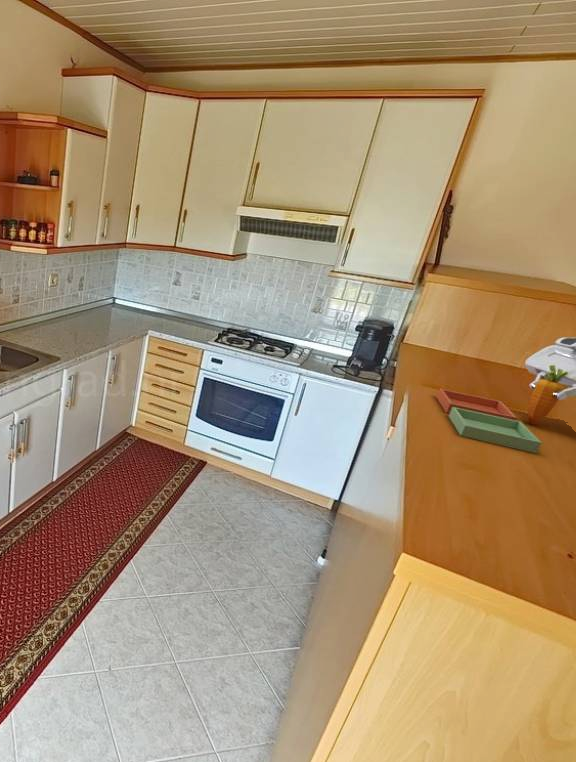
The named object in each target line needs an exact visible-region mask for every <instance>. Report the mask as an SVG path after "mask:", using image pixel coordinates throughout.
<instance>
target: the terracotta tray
mask: <svg viewBox="0 0 576 762" xmlns="http://www.w3.org/2000/svg"><path fill="white" fill-rule="evenodd" d="M436 399H437V401H438V402H439V404H440V405H441V407H442V409H443V410H444V412H445V413H446V414H448V415H450V412H451V409H452V407H455V408H460V409H465V410H469V411H474V412H478V413H483V414H488V415H492V416H497V417H502V418H506V419H511V420H516V421H517V419H518V417H517V416H516V415H515V414H514V413H513V412H512V411H511V410H510V409H509V408H508V407H507V406H506V405H505V404H504V403H503V402H502V401H501V400H498V399H492V398H487V397H482V396H477V395H472V394H468V393H463V392H458V391H454V390H448V389H444V388H439V390H438V392H437V395H436Z"/></svg>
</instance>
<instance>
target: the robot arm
mask: <svg viewBox="0 0 576 762" xmlns="http://www.w3.org/2000/svg"><path fill="white" fill-rule="evenodd" d="M550 365H555V369H556V376H557V373H558V369H562V370H563V372H562V373H564V372H566V371H567V372H568V374H567V375H565V376H563V377H562V378H561V379H559V380H558V381H557V382H559V383H561V384H562V385H563V386H566V387H569V388H565V389H563V390H561V389H559V390H557V391H556V392H554V393H553V396H554V398H556V399H558V400H559V401H563V400H565V399H567V398H568V397H575V396H576V337H560V338H558V339H556V341H555V344H553V345H549V346H546V347H544V348H542V349H540V350H538V351H537V352H535V353H534V354H532V355H530V356H529V357H528V358H527V359H525V362H524V366H525V368H526V370H527V372H528V373H530V374H532V375H535V380H533V381H532V382H530V383H529V388H530V389H531V390H533V391H534V389H535V387H536V384H537V382H538V381H539V380H542V379H545V380H549V378H548V377H547V375H546V374H545V373H546V372H547V373H549V374H550V376H551V372H550V367H549V366H550Z"/></svg>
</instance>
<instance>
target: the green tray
mask: <svg viewBox="0 0 576 762" xmlns="http://www.w3.org/2000/svg"><path fill="white" fill-rule="evenodd" d="M448 418H449V419H450V421H451V422H452V424H453V426H454V427H455V429H456V431H457V432H458V434H459V435H460V436H461V437H465V438H468V439H473V440H477V441H480V442H486V443H490V444H494V445H498V446H502V447H507V448H510V449H511V448H512V449H515V450H520V451H525V452H528V453H532V454H538V451H539V449H540V448H541V445H542V441H541V440H540V439H539V438H538V437H537V436H536V435H535V434H534V433H533V432H532V431H531V430H530V429H529V428H528V427H527V426H526V425H525V424H524V423H523V421H521V420H520V421H519V420H517V419H516V420H511V419H506V418H502V417H497V416H492V415H488V414H483V413H478V412H474V411H469V410H465V409H460V408H455V407H452V409H451V412H450V414H448Z"/></svg>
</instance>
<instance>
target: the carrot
mask: <svg viewBox="0 0 576 762" xmlns="http://www.w3.org/2000/svg"><path fill="white" fill-rule="evenodd" d="M549 367H550V372H551V376H550V374H549V373H547V372H546V373H545V374H546V375H547V377H548V378H549V380H545V379H542V380H539V381H538V382H537V384H536V387H535V389H534V390H533V391H532V393H531V397H530V400H529V404H528V412H527V413H528V415H527V416H528V417H527V418H528V422H529V424H530V425H535V424H538V423H539V422H541V421H542V420H544V418H545V417H547V415H548V414H549V413H550V412H551V411H552V409H553V408H554V407H555V405H556V404H557V403H558V400H559V399H556V398H554V396H553V393H554V392H556V391H557V390H559V389H561V390H564V385H563V384H561V383H559V382H557V381H558V380H559V379H561V378H562V377H563V376H565V375H567V374H568V372H567V371H566V372H564V373H562V372H563V370H562V369H558V373H557V376H556V369H555V365H550V366H549Z"/></svg>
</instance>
